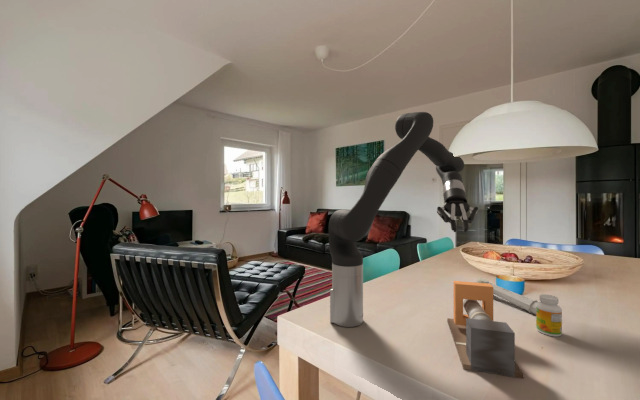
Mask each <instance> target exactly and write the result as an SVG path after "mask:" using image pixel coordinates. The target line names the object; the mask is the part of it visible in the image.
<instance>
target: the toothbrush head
mask: <svg viewBox="0 0 640 400" xmlns="http://www.w3.org/2000/svg"><path fill="white" fill-rule="evenodd" d="M476 283H489V284H491V285H492V286H493V295H495V296H497V297H499V298H502V299H503V300H505V301H507V302H508V303H511V304H513V305H514V306H517V307H519V308H521V309H523V310H525V311H526V312H528V313H529V314H532V315H535V316H536V305H537V303H539V302H540V301H538V300H537V299H531V298H529V297H528V296H527V297H526V296H524V295H521V294H519V293H517V292H515V291H514V292H513V291H511V290H509V289H507V288H504V287H502V286H499V285H496V284H495V283H494V284H493V283H491V282H490V281H489V280H488V279H486V278H483V277H478V278H477V280H476Z"/></svg>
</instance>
